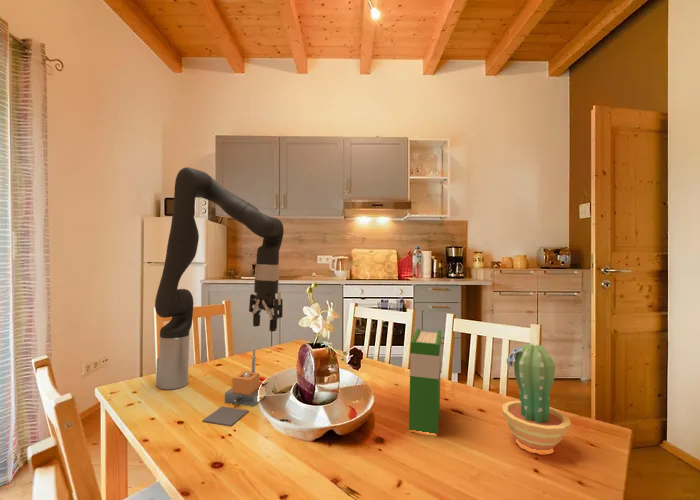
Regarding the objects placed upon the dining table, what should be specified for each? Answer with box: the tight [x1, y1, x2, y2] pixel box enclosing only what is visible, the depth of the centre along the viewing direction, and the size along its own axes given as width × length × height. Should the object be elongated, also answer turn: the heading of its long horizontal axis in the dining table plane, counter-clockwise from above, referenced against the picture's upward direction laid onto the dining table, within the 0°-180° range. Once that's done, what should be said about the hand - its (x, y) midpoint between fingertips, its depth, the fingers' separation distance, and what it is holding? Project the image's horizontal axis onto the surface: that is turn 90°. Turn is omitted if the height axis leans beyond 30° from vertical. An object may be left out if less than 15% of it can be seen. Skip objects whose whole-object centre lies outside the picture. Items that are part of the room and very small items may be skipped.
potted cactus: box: [501, 343, 572, 450], centre depth 87 cm, size 15×15×25 cm
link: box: [231, 371, 261, 394], centre depth 110 cm, size 6×6×4 cm
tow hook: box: [251, 349, 266, 386], centre depth 124 cm, size 8×13×9 cm
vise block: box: [224, 370, 260, 407], centre depth 109 cm, size 10×11×8 cm
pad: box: [202, 406, 250, 427], centre depth 98 cm, size 9×9×1 cm
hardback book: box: [408, 328, 442, 435], centre depth 99 cm, size 18×7×24 cm, turn 164°
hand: (264, 328), depth 111 cm, fingers open, 8 cm apart
